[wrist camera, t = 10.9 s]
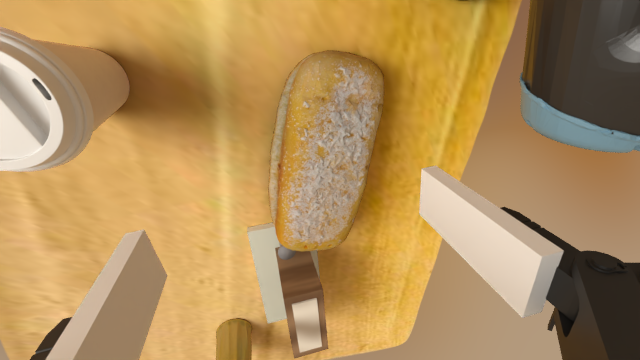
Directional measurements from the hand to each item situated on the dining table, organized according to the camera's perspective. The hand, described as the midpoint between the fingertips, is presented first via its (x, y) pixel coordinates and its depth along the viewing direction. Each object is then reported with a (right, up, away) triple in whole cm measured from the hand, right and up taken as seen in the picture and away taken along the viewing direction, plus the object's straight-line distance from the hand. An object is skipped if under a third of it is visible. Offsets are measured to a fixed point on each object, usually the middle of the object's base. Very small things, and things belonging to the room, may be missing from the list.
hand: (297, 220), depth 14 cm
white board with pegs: (-4, -13, +34) cm, 37 cm away
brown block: (-3, -13, +33) cm, 36 cm away
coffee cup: (-23, +12, +17) cm, 31 cm away
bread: (0, +6, +27) cm, 27 cm away
